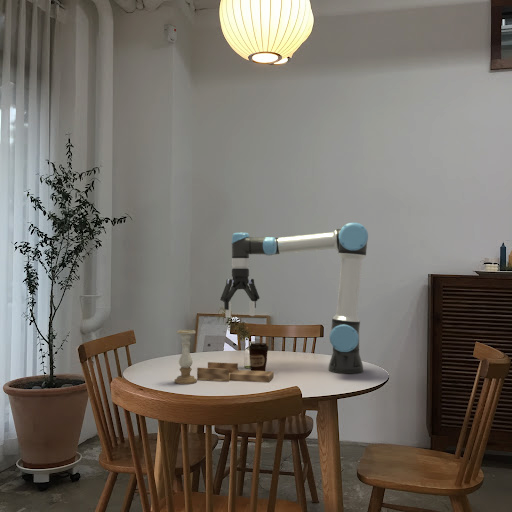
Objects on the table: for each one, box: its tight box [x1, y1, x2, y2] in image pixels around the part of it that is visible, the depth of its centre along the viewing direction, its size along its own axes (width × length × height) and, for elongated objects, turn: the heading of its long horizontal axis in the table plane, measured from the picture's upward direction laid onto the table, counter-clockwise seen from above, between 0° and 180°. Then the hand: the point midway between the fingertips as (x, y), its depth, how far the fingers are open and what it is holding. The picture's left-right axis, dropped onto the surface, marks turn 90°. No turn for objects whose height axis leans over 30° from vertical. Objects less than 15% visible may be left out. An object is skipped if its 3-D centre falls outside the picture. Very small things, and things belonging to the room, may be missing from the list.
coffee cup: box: [248, 342, 269, 371], centre depth 248 cm, size 9×8×13 cm
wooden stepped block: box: [196, 361, 275, 383], centre depth 237 cm, size 29×15×5 cm, turn 77°
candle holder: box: [174, 329, 198, 385], centre depth 229 cm, size 9×9×20 cm
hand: (240, 316), depth 253 cm, fingers open, 13 cm apart
